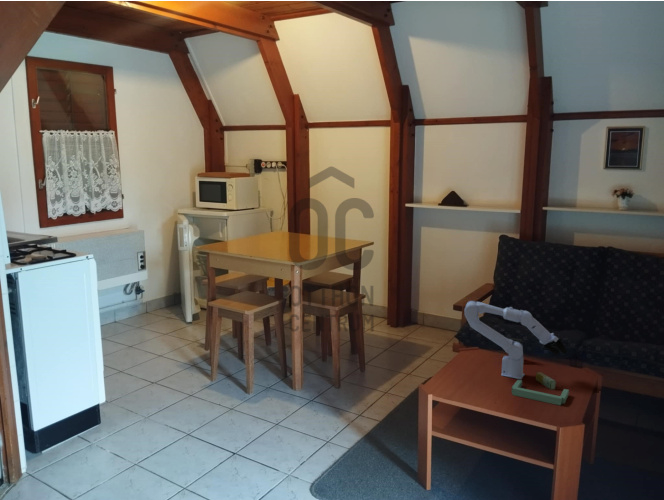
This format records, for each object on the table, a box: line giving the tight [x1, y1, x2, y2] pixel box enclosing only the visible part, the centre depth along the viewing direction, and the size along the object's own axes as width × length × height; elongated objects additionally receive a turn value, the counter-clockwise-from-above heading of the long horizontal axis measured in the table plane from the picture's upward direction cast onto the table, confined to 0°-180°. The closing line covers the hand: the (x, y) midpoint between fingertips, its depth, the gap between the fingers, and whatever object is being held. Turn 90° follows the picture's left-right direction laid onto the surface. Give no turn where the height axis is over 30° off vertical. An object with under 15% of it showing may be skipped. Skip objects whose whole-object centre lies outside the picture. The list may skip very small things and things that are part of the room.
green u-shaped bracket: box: [511, 379, 570, 406], centre depth 243 cm, size 22×14×3 cm, turn 58°
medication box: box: [535, 371, 557, 390], centre depth 256 cm, size 12×3×4 cm, turn 13°
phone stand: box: [509, 337, 524, 345], centre depth 286 cm, size 9×6×12 cm, turn 156°
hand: (561, 353), depth 258 cm, fingers open, 7 cm apart
